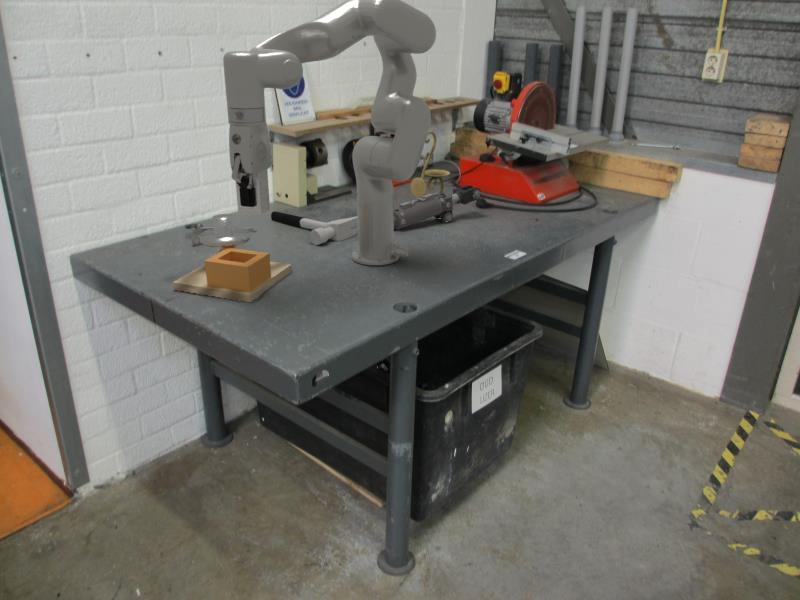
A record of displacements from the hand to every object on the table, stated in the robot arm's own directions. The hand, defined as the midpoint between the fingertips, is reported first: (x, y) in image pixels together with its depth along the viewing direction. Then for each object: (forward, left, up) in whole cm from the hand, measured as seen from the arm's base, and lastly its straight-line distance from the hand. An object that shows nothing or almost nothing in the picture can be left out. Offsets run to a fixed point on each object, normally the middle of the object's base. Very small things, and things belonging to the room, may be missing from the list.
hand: (253, 202), depth 136 cm
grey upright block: (0, 0, -2) cm, 2 cm away
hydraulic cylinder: (-21, -68, -22) cm, 74 cm away
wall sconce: (-15, -89, -22) cm, 93 cm away
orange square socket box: (+10, -5, -21) cm, 24 cm away
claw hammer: (+11, -50, -22) cm, 56 cm away
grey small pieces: (+30, -32, -22) cm, 49 cm away
